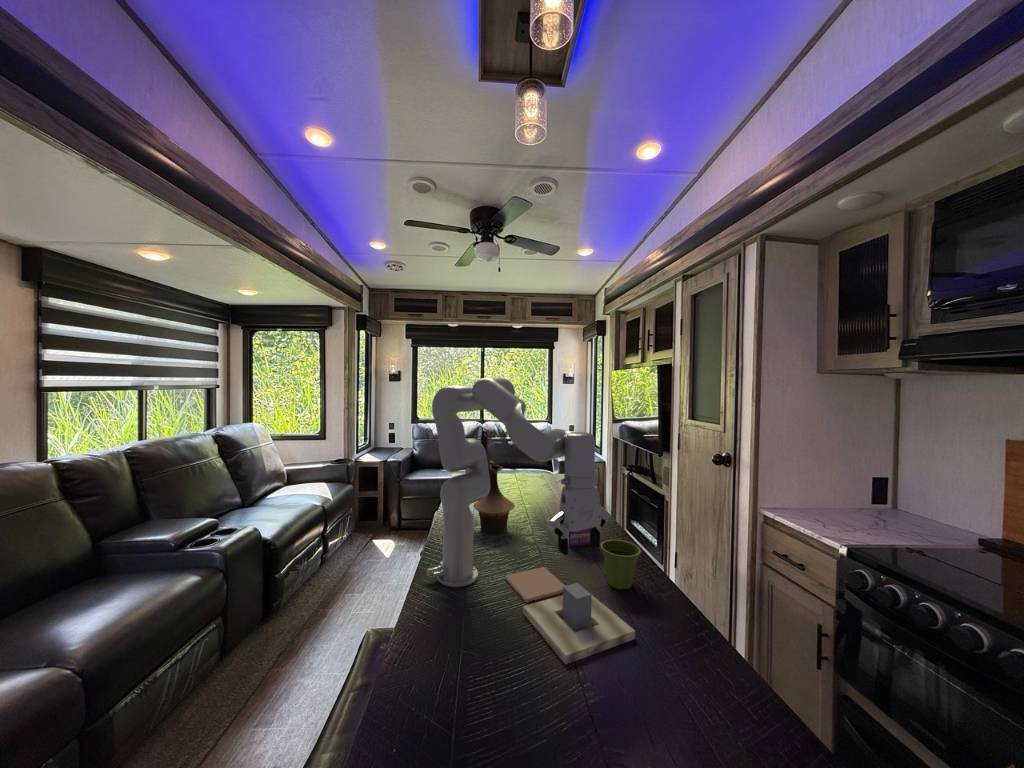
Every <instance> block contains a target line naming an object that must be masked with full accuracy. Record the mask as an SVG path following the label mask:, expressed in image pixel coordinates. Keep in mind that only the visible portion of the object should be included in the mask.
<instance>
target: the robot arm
mask: <svg viewBox="0 0 1024 768" xmlns="http://www.w3.org/2000/svg"><path fill="white" fill-rule="evenodd" d="M515 393H516V390H515V387H514V384H513V383H512V382H511V381H510V379H507V378H505V377H482V378H480V379H478V380H476V381H475V383H474V384H468V385H466V384H452V385H448V386H445V387H441V388H440V389H439V390H438V391H437V392H436V393H435V395H434V397H433V399H432V402H431V403H432V404H431V410H432V411H431V412H432V417H433V421H434V423H435V427H436V431H437V432H436V433H437V442H438V449H439V456H440V462H441V466H442V468H443V469H444V470H445V471H446V472H448V473H449V472H450V473H455V472H460V471H463V470H464V473H462V474H459V475H455V476H453V477H450V478H448V479H447V480H445V481H444V482H443V484H441V488H440V494H439V495H440V500H441V501H440V502H441V506H442V513H443V514H442V518H443V519H442V520H443V521H442V523H443V524H442V528H443V529H442V533H443V534H442V560H441V561H439V565H436V566H433V567H428V568H427V569H426V574H427V576H431V575H433V578H437V580H438V582H439V584H441V585H443V586H446V587H449V588H450V587H452V588H462V587H466V586H469V585H472V584H474V583H475V582H476V580H478V577H479V570H478V569H477V567H475V566H474V550H475V549H474V548H475V547H474V543H475V542H474V541H475V540H474V539H475V525H474V524H475V520H474V519H475V518H474V516H473V515H474V514H473V512H472V511H471V508H470V505H472V504H474V503H476V502H477V501H479V500H481V499H483V498H485V497H486V496H487V495H488V493H489V491H490V476H489V470H488V456H487V451H486V449H485V447H484V445H483V444H482V442H481V441H480V440H478V439H477V438H473V437H472V438H466V434H465V426H464V424H463V422H462V420H461V419H460V417H459V416H458V413H463V412H465V413H466V412H475V411H477V412H478V411H481V410H482V411H483V410H486V411H487V412H488V413H489V414H491V415H492V416H493V417H494V418H495V419H497V420H498V421H499V422H500V423H501V424H502V425H504V427H505V430H506V434H507V435H508V437H509V439H510V441H511V442H512V444H514V446H515V447H517V448H518V449H519V451H521V452H522V453H524V454H525V455H526V456H528V457H529V458H530V459H532V460H534V461H536V462H540V463H545V462H549V461H552V460H554V459H559V458H563V457H564V475H563V477H564V478H562V479H561V480H560V483H561V485H564V486H563V487H562V488H561V489H562V490H561V493H560V498H559V499H560V500H559V512H558V513H557V514H555V515H554V516H553V517H552V518H551V519H550V520H549V521H548V524H549V526H550V528H551V530H552V531H553V533H554V534H555V535H556V537H557V549H558V551H559V552H560V553H561V554H563V555H564V556H568V554H569V546H568V539H567V538H566V537H567V535H568V533H569V532H570V531H579V530H584V529H589V528H590V544H592V546H593V547H594V548H597V549H599V548H601V532H602V530H603V527H604V525H605V524H606V520H607V518H608V514H609V513H608V511H607V510H604V509H602V508H601V498H600V493H599V488H598V486H597V485H596V480H595V479H596V473H595V471H596V459H595V458H596V439H595V436H594V434H592V433H590V432H586V431H569V430H566V429H562V428H553V429H546V430H540V429H539V428H537V427H536V426H535V425H533V424H532V423H531V422H530V421H529V420H527V418H526V417H525V412H526V409H527V407H526V403H525V402H524V401H523V400H522V399H521V398H519V397H518V396H517V395H516V394H515ZM558 525H559V527H558Z"/></svg>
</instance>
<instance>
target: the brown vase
mask: <svg viewBox="0 0 1024 768" xmlns="http://www.w3.org/2000/svg"><path fill="white" fill-rule="evenodd" d="M487 463H488V470H489V476H490V491H489V493H488V495H487V496H486V497H485V498H483V499H481V500H479V501H476V502H474V503H473V508H474V510H476V511H478V515H479V522H480V531H481V533H482V534H484V535H488V536H499V534H500V535H504V534H505V533H506V532H507V531H508V530H507V529H508V520H509V514H510V512H511V511H513V509H514V508H515V507H516V506H515V503H514V502H512V501H511V500H509V499H508V498H507V497H505V495H504V494H503V493H502V492H501V490H500V487H499V483H498V472H501V471H502V470H503V466H501V465H498V464H496V463H495V461H493V460H489V461H487Z"/></svg>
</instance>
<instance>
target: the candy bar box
mask: <svg viewBox="0 0 1024 768" xmlns="http://www.w3.org/2000/svg"><path fill="white" fill-rule="evenodd" d="M566 538H567V539H568V548H575V547H583V546H584V547H585V546H591V545H592V544H590V528H589V529H584V530H579V531H570V532H569V533H568V535H567V537H566ZM592 546H593V545H592Z"/></svg>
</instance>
